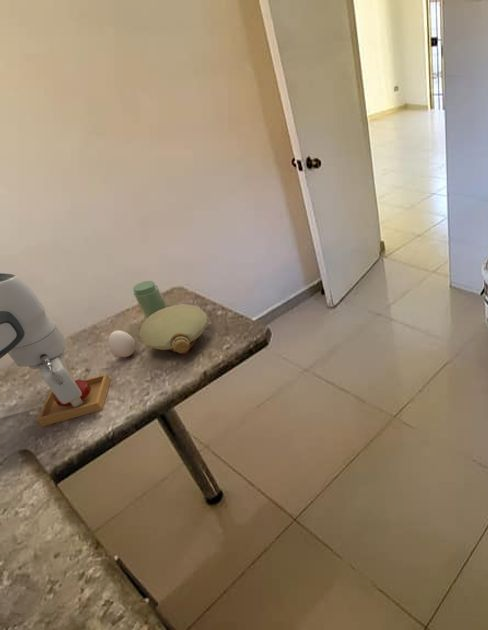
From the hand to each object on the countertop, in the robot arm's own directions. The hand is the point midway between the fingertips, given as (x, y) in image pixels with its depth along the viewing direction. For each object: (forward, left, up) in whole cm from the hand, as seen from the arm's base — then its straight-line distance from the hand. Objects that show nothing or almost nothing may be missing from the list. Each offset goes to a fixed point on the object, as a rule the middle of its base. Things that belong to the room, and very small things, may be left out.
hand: (73, 395), depth 95 cm
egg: (+8, +14, -2) cm, 16 cm away
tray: (0, 0, -2) cm, 2 cm away
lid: (0, 0, +1) cm, 1 cm away
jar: (+14, +30, -2) cm, 33 cm away
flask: (+21, +12, -2) cm, 24 cm away
